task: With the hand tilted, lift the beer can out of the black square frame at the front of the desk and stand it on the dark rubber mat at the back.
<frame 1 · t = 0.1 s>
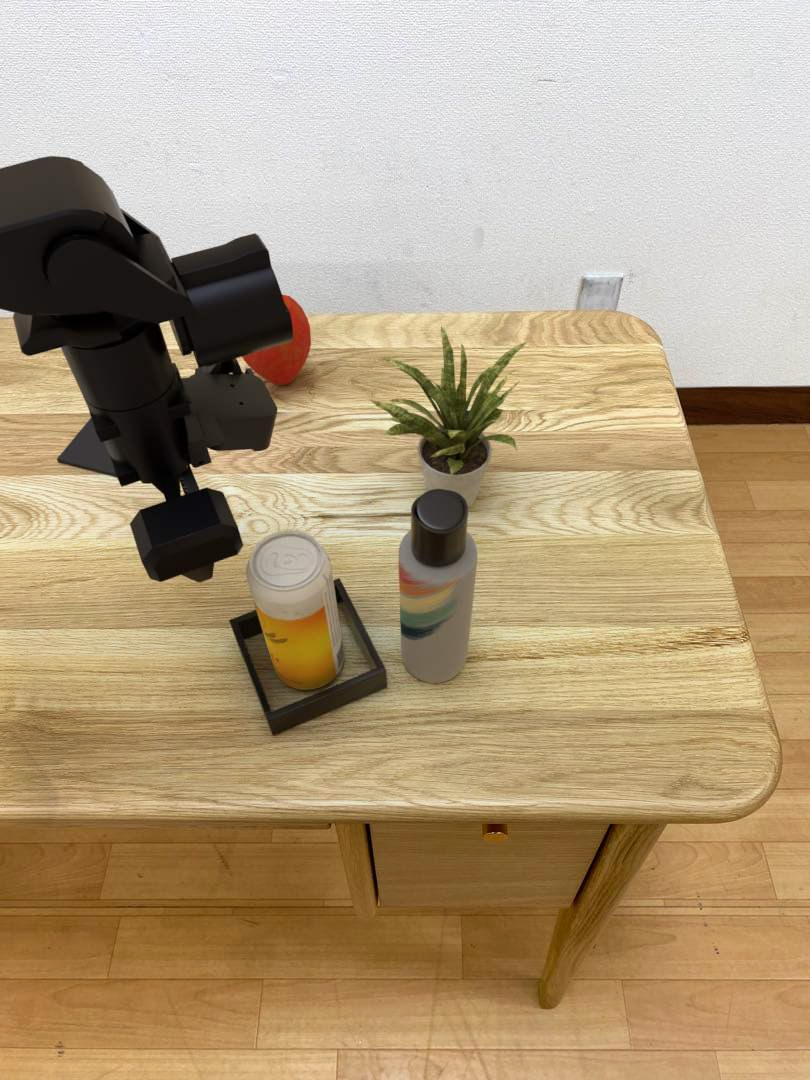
hand: (189, 535, 60), 12 cm above the table, tool pointing down, fingers open, 9 cm apart
house plant: (456, 484, 79), on the table
lotion bottle: (434, 656, 67), on the table
apple: (280, 381, 89), on the table
mat: (111, 444, 83), on the table
black square frame: (309, 662, 66), on the table
beer can: (309, 663, 66), resting in black square frame
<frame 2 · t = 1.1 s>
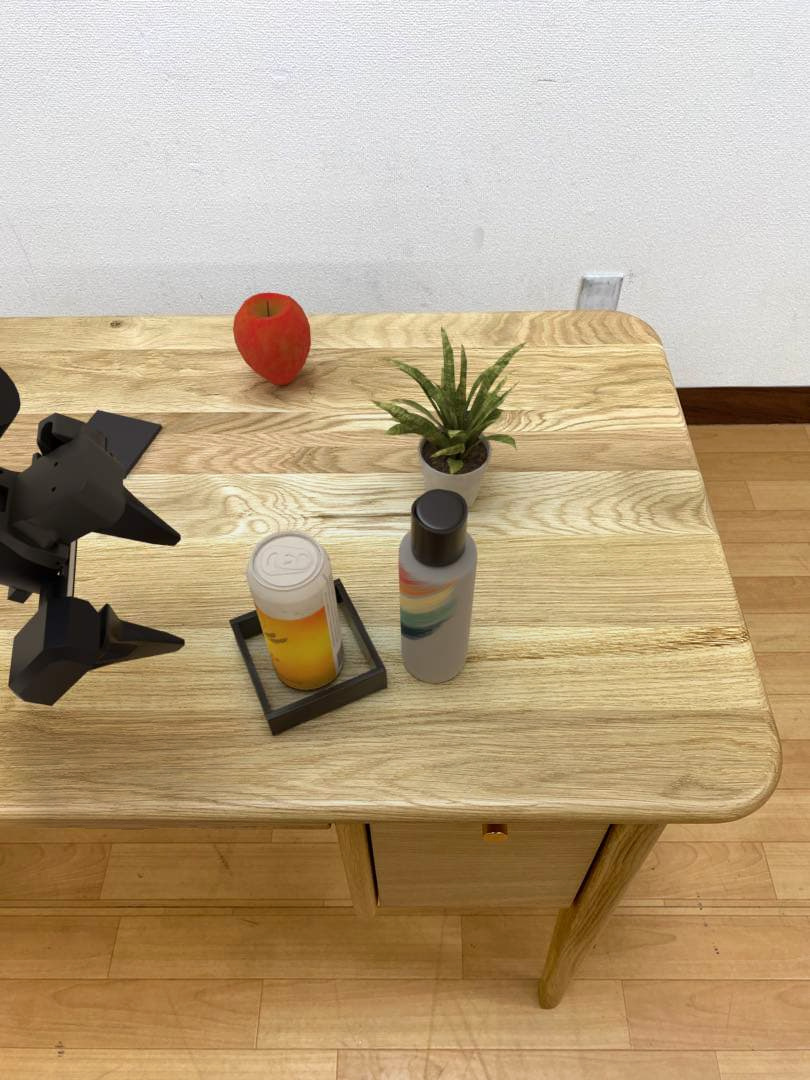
hand: (179, 590, 55), 13 cm above the table, tool tilted 45°, fingers open, 9 cm apart
nothing on the table moved.
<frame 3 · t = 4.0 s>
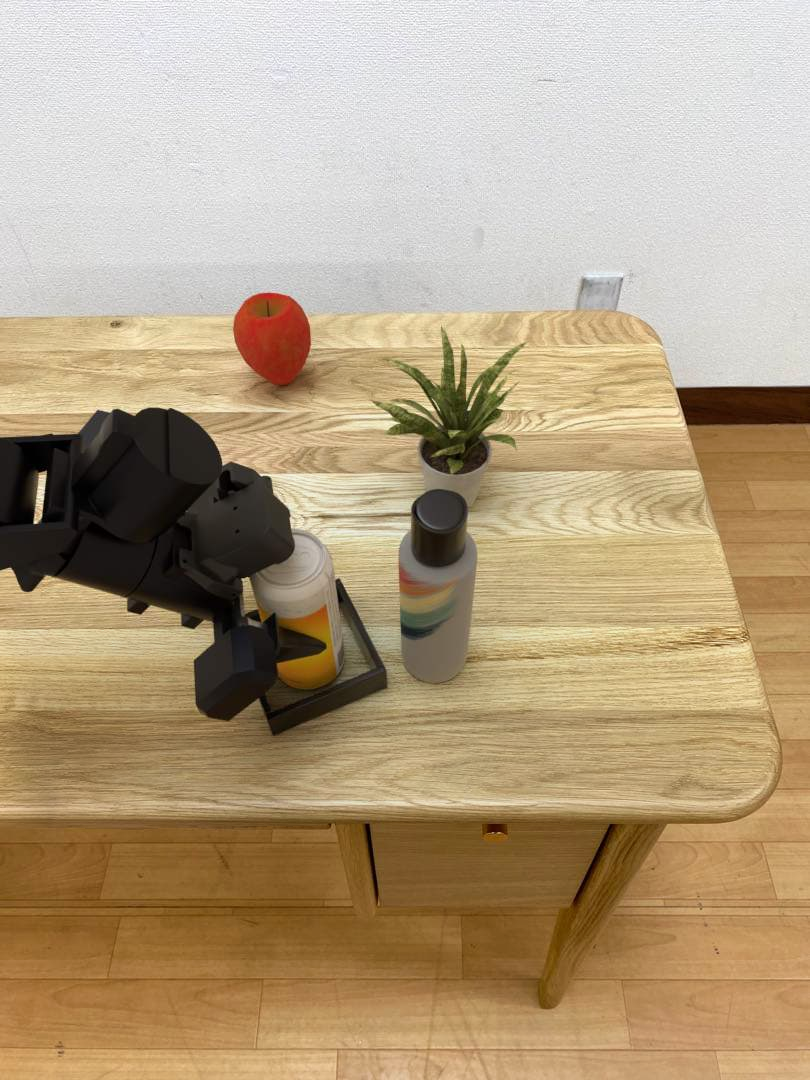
hand: (317, 614, 61), 7 cm above the table, tool tilted 45°, fingers closed on beer can, 6 cm apart
beer can: (310, 663, 66), resting in black square frame, touching gripper
everything else where it was.
when the fingers open (8 cm above the table, at t = 13.5 s): beer can stays where it is, resting on mat.
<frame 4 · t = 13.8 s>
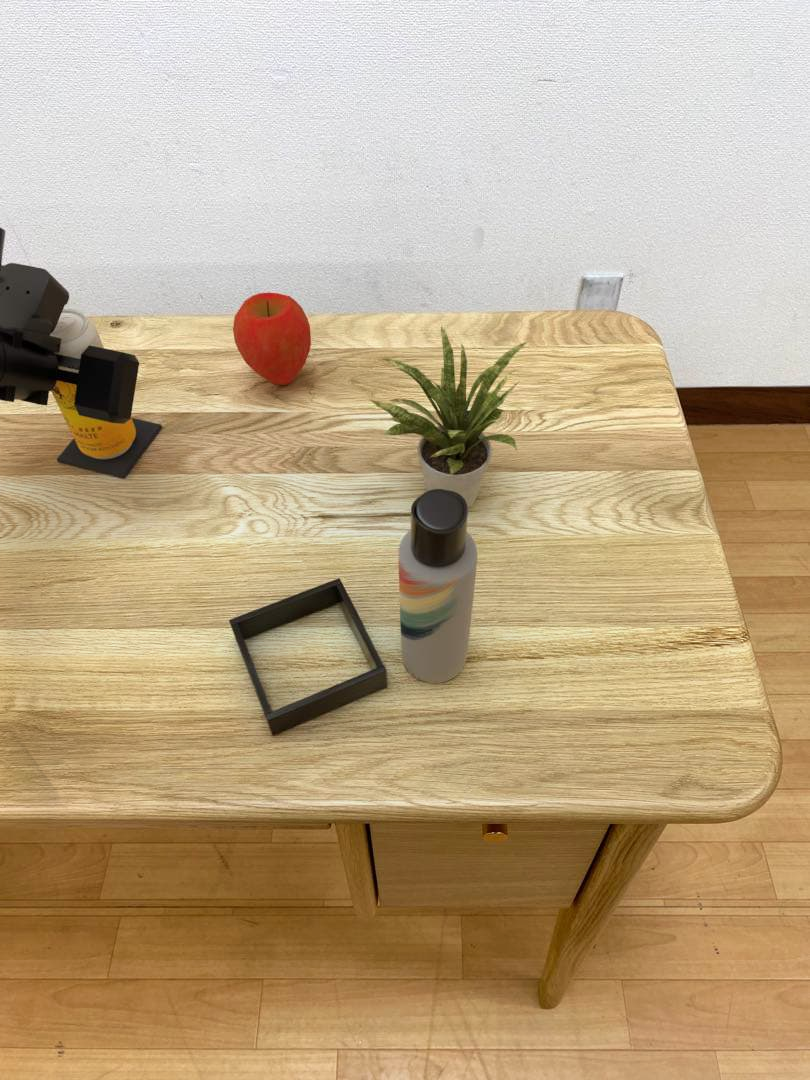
hand: (94, 379, 77), 8 cm above the table, tool tilted 45°, fingers open, 9 cm apart
beer can: (109, 443, 82), resting on mat
everything else where it was.
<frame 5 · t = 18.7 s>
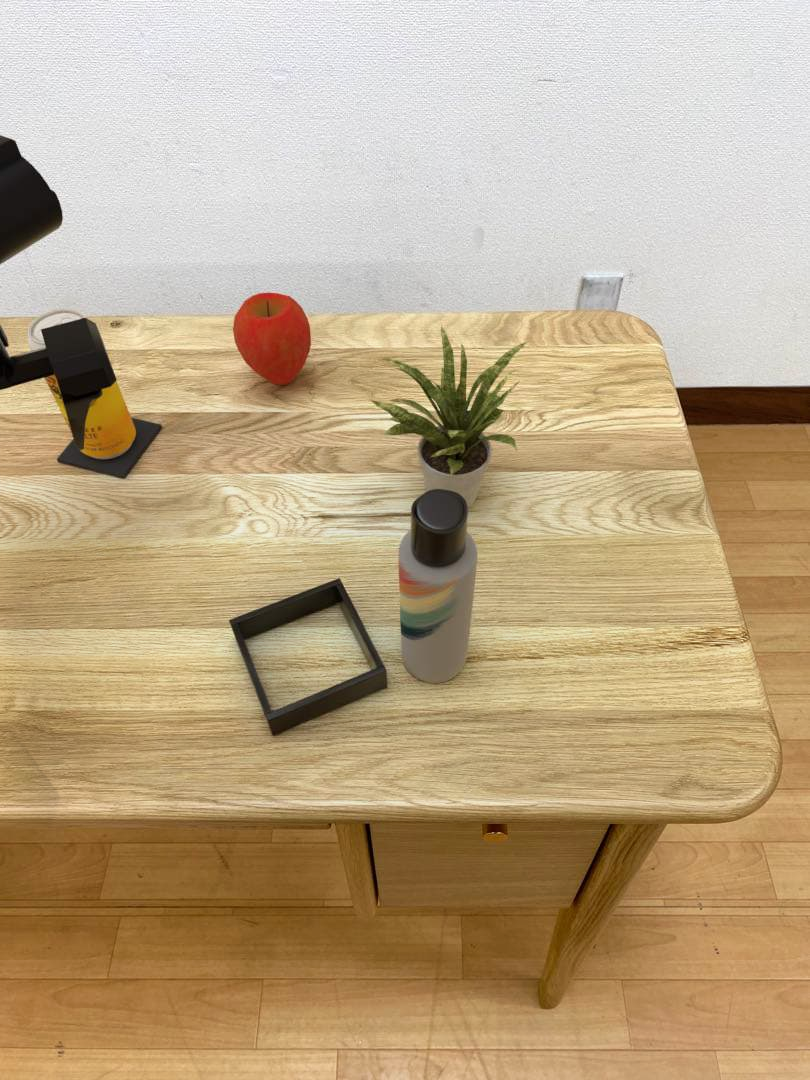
hand: (24, 463, 63), 13 cm above the table, tool pointing down, fingers open, 9 cm apart
nothing on the table moved.
at the end: beer can 0.2 cm off-centre on the mat, point 0.3 cm above the mat's base; beer can tilted 0° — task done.
